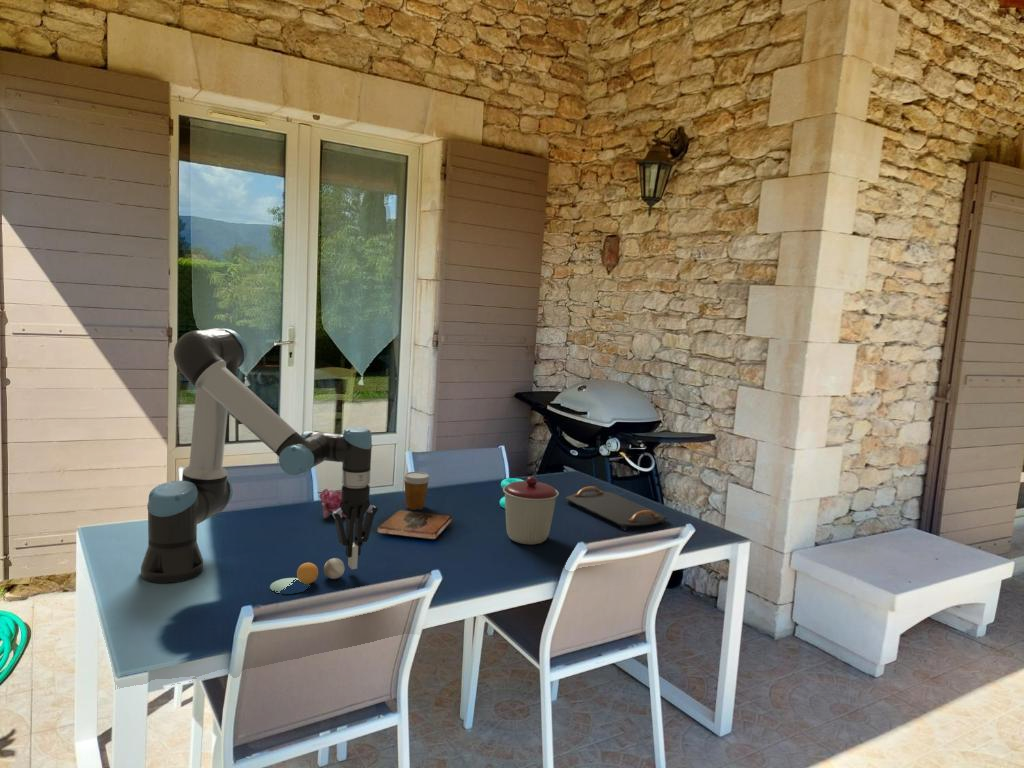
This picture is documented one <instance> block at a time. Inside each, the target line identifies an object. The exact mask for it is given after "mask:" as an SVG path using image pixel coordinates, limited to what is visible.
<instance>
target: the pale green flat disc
mask: <svg viewBox="0 0 1024 768" xmlns="http://www.w3.org/2000/svg"><path fill="white" fill-rule="evenodd" d="M295 579H296V580H298V578H297V577H286V578H285V577H284V578H281V579H277V580H276V581H273V582H272V583H271V584H270V585H269V590H270V589H271V590H272V591H274V590H275V592H276V591H278V592H276V593H280V591H281V590H283V589H284V588H285V589H286V587H287V586H290V585H292V584H293V583H291V582H293V580H295ZM296 580H295V581H296ZM295 581H294V582H295ZM289 584H290V585H289ZM308 585H309V584H308ZM309 586H310V587H311V584H310V585H309ZM285 589H284V590H285ZM271 590H270V591H271ZM272 591H271V592H272ZM276 593H275V594H276Z"/></svg>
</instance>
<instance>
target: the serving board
mask: <svg viewBox="0 0 1024 768" xmlns="http://www.w3.org/2000/svg"><path fill="white" fill-rule="evenodd" d="M564 499H565V500H566V503H567V505H574V504H575V505H576V506H578V507H581V508H583V509H584V510H585V509H586V511H588V512H590V513H593V514H595V515H597V516H599V517H601V518H604V519H605V520H608V521H609V522H612V523H614V524H616V525H618V526H620V530H621V529H628V527H641V526H642V527H643V526H650V525H656V524H660V523H663V524H664V523H665V520H667V516H666V515H665V514H662V513H660V512H657V511H656V510H654V509H652V508H649V507H646V506H644V505H642V504H640V503H637V502H635V501H632V500H630V499H627V498H625V497H622V496H620V495H618V494H615V493H613V492H610V491H604V490H600V489H599V488H598V487H596V486H593V485H592V486H590V485H589V486H585V487H582V488H580V489H579V490H578V491H577V493H573V494H570V495H568V496H566V497H565V498H564ZM659 522H660V523H659Z"/></svg>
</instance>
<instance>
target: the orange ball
mask: <svg viewBox="0 0 1024 768" xmlns="http://www.w3.org/2000/svg"><path fill="white" fill-rule="evenodd" d="M318 576H319V568H318V566H317V565H316V564H314V563H312V562H304V563H302V564H300V565H299V566H298V568H297V571H296V578H298V580H299V581H300V582H302V583H304V584H310V585H311V584H312V583H314V582H315V581H316V580H317V578H318Z"/></svg>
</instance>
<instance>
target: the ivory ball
mask: <svg viewBox="0 0 1024 768" xmlns="http://www.w3.org/2000/svg"><path fill="white" fill-rule="evenodd" d="M345 568H346V567H345V563H344V562H343V560H342V559H340V558H338V557H332V558H330V559H328V560H327V561H326V562H325V564H324V566H323V573H324V575H325V576H326V577H327V578H328V579H331V580H336V579H339V578H340V577H342V576H343V575H344V572H345V570H346V569H345Z"/></svg>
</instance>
